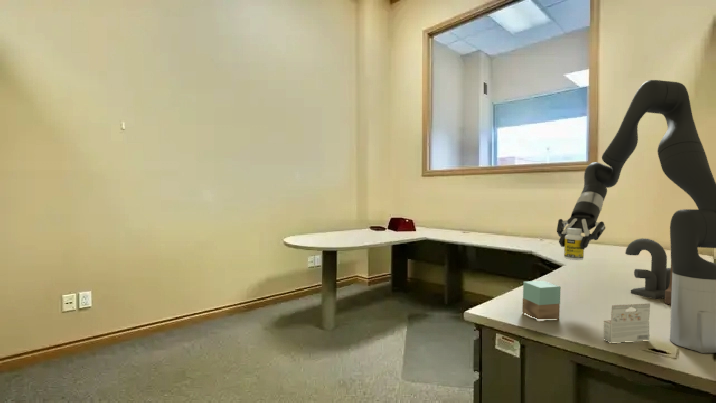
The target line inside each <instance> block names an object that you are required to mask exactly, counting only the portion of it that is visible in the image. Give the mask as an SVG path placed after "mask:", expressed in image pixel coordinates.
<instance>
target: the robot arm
mask: <svg viewBox="0 0 716 403" xmlns="http://www.w3.org/2000/svg"><path fill="white" fill-rule="evenodd" d="M691 106H692V105H691V100H690V95H689V91H688V89H687V87H686V86H685V85H684V84H683V83H681V82H677V81H671V80H670V81H668V80H660V79H650V80H646V81H644V82H643V83H642V84H641V85H640V87H639V88H638V89H637V91H636V92H635V94H634V96H633V98H632V99H631V102H630V104H629V107H628V108H627V111H626V113H625V115H624V116H623V118H622V121H621V124H620V126H619V128H618V130H617V132H616V133H615V136H614V137H613V138H612V141H611V142H610V143H609V144H608V146H607V147H606V149H605V150H604V152H603V153H602V155H601V159H602V162H603V163H604V164H603V163H600V162H596V161H595V162H591V163H590V164H588V165H587V166H586V168H585V171H584V174H583V180H584V182H583V183H584V185H583V188H582V191H581V193H580V195H579V197H578V198H577V201H576V203H575V205H574V207H573V209H572V211H571V215H570V217H569V218H567V219H566V220H565V219H562V218H559V219H558V221H557V222H558V223H557V227H556V233H557V235H558V236H559V237H560V238H559V240H558V243H559V245H560V247H562V248H564V245H565V236H566V235H568V233H567V229H568V228H579V229H582V233H581V234H584V236H583V235H582V236H583V239H582V241H581V243H580V247H581V249H584V250H585V249H587V248H588V246H589V243H590V242H591V241H592V240H594V241H597V240H599V238H600V237H601V235H602V234H603V232H604V231H605V230H606V224H605V222H604V221H599V222H598V218H599V216H600V213H601V211H602V209H603V205H604V201H605V199H606V196H607V193H608V189H609V188H613V187H615V185H617V183H618V181H619V179H620V177H621V176H620V175H621V172H622V170H623V168H624V166H625V164H626V162H627V161H628V159H629V158H630V156H631V155H632V154H633V153H634V152H635V150H636V148H637V145H638V142H639V136H638V135H639V134H638V131H639V130H638V129H639V128H638V126H639V122H640V121H641V120H642V118H643V117H644V115H645V114H647V113H649V114H650V113H651V114H659V115H662V116H664V118H665V121H666V125H667V130H666V132H665V133H664V135H663V137H662V138H661V140H660V142H659V143H658V146H657V155H658V159H659V163H660V167H661V170H662V172H663V173H664V175H665V176H666V177H667V178H668V179H669V180H670V181H671V182H672V183H673V184H675V185H676V186H677V187H678V188H680V189H681V190H682V191H684V192H685V193H686V194H687V195H688V196H689V197H690V198H691V199H692V200H693V202H694V203H695V205H696V207H697V209H696V208H695V209H691V208H690V209H688V208H687V209H686V208H682V209H679V210H676V211H675V212H674V213H673V215H672V217H671V219H670V226H669V235H670V238H669V239H670V240H669V241H670V263H671V262H672V293H671V305H670V323H669V324H670V325H669V326H670V328H669V329H670V330H669V340H670V342H672V343H673V344H674V345H677V346H678V347H682V348H685V349H688V350H692V351H696V352H699V353H701V354H703V353H704V354H706V353H707V354H708V353H709V354H711V353H712V354H715V353H716V263H715V262H712V261H708V260H707V259H705V258H703V257H701V256H700V254H699V251H698V250H699V248H706V249H716V180H715V177H714V175H713V173H712V170H711V167H710V164H709V160H708V157H707V154H706V151H705V149H704V145H703V143H702V141H701V139H700V136H699V133H698V130H697V127H696V123H695V120H694V117H693V111H692V107H691ZM592 229H593V230H592ZM590 230H592V232H590Z"/></svg>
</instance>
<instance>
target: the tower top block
mask: <svg viewBox="0 0 716 403" xmlns="http://www.w3.org/2000/svg"><path fill="white" fill-rule="evenodd" d="M522 282H523V283H522V284H523V286H522V288H523V289H522V299H523V298H524V299H526V300H529V301H531V302H533V303H536V304H538V305H548V304H560V305H561V290H562V289H561V286H560V285H557V284H555V283H551V282H548V281H546V280H534V281H533V280H530V281H529V280H528V281H522Z"/></svg>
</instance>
